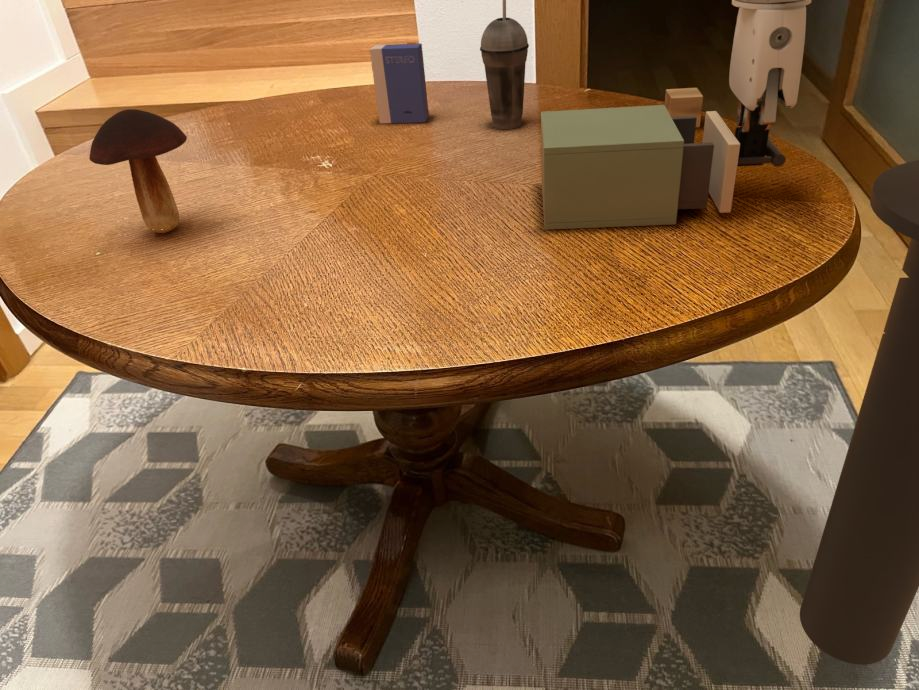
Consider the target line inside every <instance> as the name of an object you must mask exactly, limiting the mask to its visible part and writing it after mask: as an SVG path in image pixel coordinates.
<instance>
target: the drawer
mask: <svg viewBox="0 0 919 690" xmlns="http://www.w3.org/2000/svg"><path fill="white" fill-rule="evenodd" d="M704 116H705V118H704V127H703V133H702V134H703V135H702V142H695V138H696V130H697V129H696V128H697V127H696V120H697V118H696V116H683V117H671V118H672V120H673V121H674V123H675V125H676V127H677V129H678V131H679V132H680V134H681V136H682V138H683V140H684V147H683V158H682V168H681V179H680V189H679V199H678V209H677V210H694V209H695V210H696V209H698V210H699V209H707V206H708V198H709V196H710V198H711V200H712V202H713V203H714V205H715V207H716V209H717V210H718V212H719V214H722V213H731V212H732V207H733V206H732V205H733V198H734V192H735V191H734V190H735V183H736V178H737V171H738V166H737V165H740V164H761V163H763V164H772V165H773V167H776V168H778V167H782V166H784V165H785V163H786V161H787V160H786V156H785V155H784V154H783V152H782V151H781V150H780V149H779V148H778V146H777V145H776V144H775V143H774V142H773V141H772V139H771V138H770V137H769V136H768V141H767V147H766V154H765V156H764V157H744V158H738V157H739V150H740V143H739V142H738V140H737V139H736V137H735V134H733V132H732V130H731V129H730V128H729V126H728V125H727V124H726V122H725V121H724V120H723V118H722V117H721V115H720V114H719V113H718V111H717V110H709V111H708V110H707V111H705V115H704Z"/></svg>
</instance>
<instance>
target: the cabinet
mask: <svg viewBox="0 0 919 690" xmlns="http://www.w3.org/2000/svg"><path fill="white" fill-rule="evenodd" d="M683 147H684V140H683V138H682V136H681V134H680V132H679V131H678V129H677V127H676V125H675V123H674V121H673V120H672V118H671V116H670V114H669V112H668V111H667V109H666V107H665V104H657V105H656V104H654V105H653V104H651V105H636V106H635V105H634V106H618V107H617V106H616V107H603V108H601V107H600V108H585V109H584V108H583V109H565V110H550V111H549V110H548V111H547V110H546V111H540V158H541V168H540V169H541V170H540V171H541V195H542V210H543V211H542V212H543V226H544V231H549V230H551V231H552V230H553V231H554V230H573V229H575V230H576V229H597V228H600V229H601V228H620V227H621V228H624V227H644V226H645V227H646V226H647V227H648V226H649V227H650V226H669V225H677V219H678V218H677V217H678V210H679V209H678V199H679V189H680V179H681V168H682V158H683Z"/></svg>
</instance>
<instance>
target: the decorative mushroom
mask: <svg viewBox="0 0 919 690" xmlns="http://www.w3.org/2000/svg"><path fill="white" fill-rule="evenodd" d="M187 139H188V137H187V135H186V133H184V131H182V129H181V128H179V126H178V125H176V124H175V123H174V122H172V121H171V120H168V119H167V118H164V117H162V116H161V115H158V114H156V113H153V112H150V111H145V110H142V109H134V108H132V109H129V108H128V109H127V108H126V109H122V110H120V111H118V112H116V113H115V114H113V115H112V116H111V117H109V118H108V119H107V120H105V121H104V123H103V124H102V125H101V126H100V127H99V129H98V131H97V132H96V134H95V136H94V137H93V140H92V142H91V145H90V149H89V157H88V158H89V161H90V162H92V163H94V164H97V165H101V166H112V165H115V164H119V163H123V162H128V164H129V168H130V169H129V170H130V174H131V175H130V176H131V179H132V184H133V189H134V194H135V198H136V201H137V205H138V208H139V211H140V214H141V218H142V220H143V222H144V224H145V226H146V227H147V228H148V230H149V231H152V232H153V233H157V234H166V233H169V232H171V231H173V230H174V229H175V228H176V227H177V226H178V225H179V223H180V214H179V213H180V212H179V209H178V206H177V202H176V200H175V197H174V195H173V192H172V189H171V186H170V184H169V181H168V179H167V177H166V175H165V173H164V172H163V169H162V168H161V166H160V162H159V161H158V158H157V157H158V156H161V155H163V154H167V153H169V152H173V151H174V150H176V149H178V148H179V147H181V146H182V145H184V144H185V143H186V141H187ZM151 229H154V230H151ZM161 229H163V230H161Z"/></svg>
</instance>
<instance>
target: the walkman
mask: <svg viewBox="0 0 919 690" xmlns="http://www.w3.org/2000/svg"><path fill="white" fill-rule="evenodd" d="M369 55H370V62H371V71H372V78H373V85H374V93H375V101H376V107H377V113H378V122H379V124H412V123H413V124H415V123H416V124H417V123H419V124H420V123H426V122H427V121H428V119H429V118H430V114H429V102H428V93H427V83H426V73H425V72H426V71H425V63H424V53H423V44H422V42H421V43H416V41H407V42H406V43H399V44H397V43H396V44H395V43H394V44H375V45H374V46H372V47H370V48H369Z"/></svg>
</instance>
